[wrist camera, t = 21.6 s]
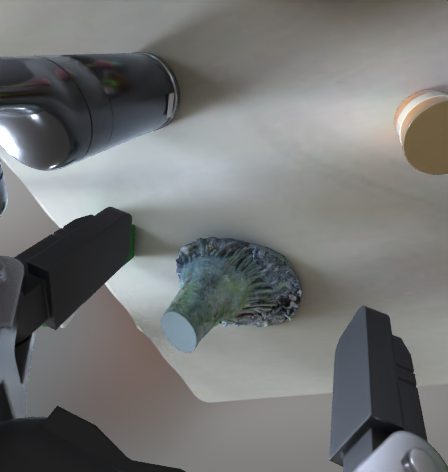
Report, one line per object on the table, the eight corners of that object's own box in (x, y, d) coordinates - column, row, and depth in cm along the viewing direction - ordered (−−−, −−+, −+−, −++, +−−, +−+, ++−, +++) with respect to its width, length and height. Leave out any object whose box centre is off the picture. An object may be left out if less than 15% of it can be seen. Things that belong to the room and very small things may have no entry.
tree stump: (267, 342, 59) (210, 421, 45) (188, 270, 64) (115, 322, 50) (327, 281, 48) (274, 362, 34) (225, 199, 52) (143, 241, 39)
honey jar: (397, 153, 37) (409, 182, 29) (387, 100, 35) (397, 116, 27) (460, 135, 34) (493, 163, 26) (453, 77, 32) (487, 87, 24)
